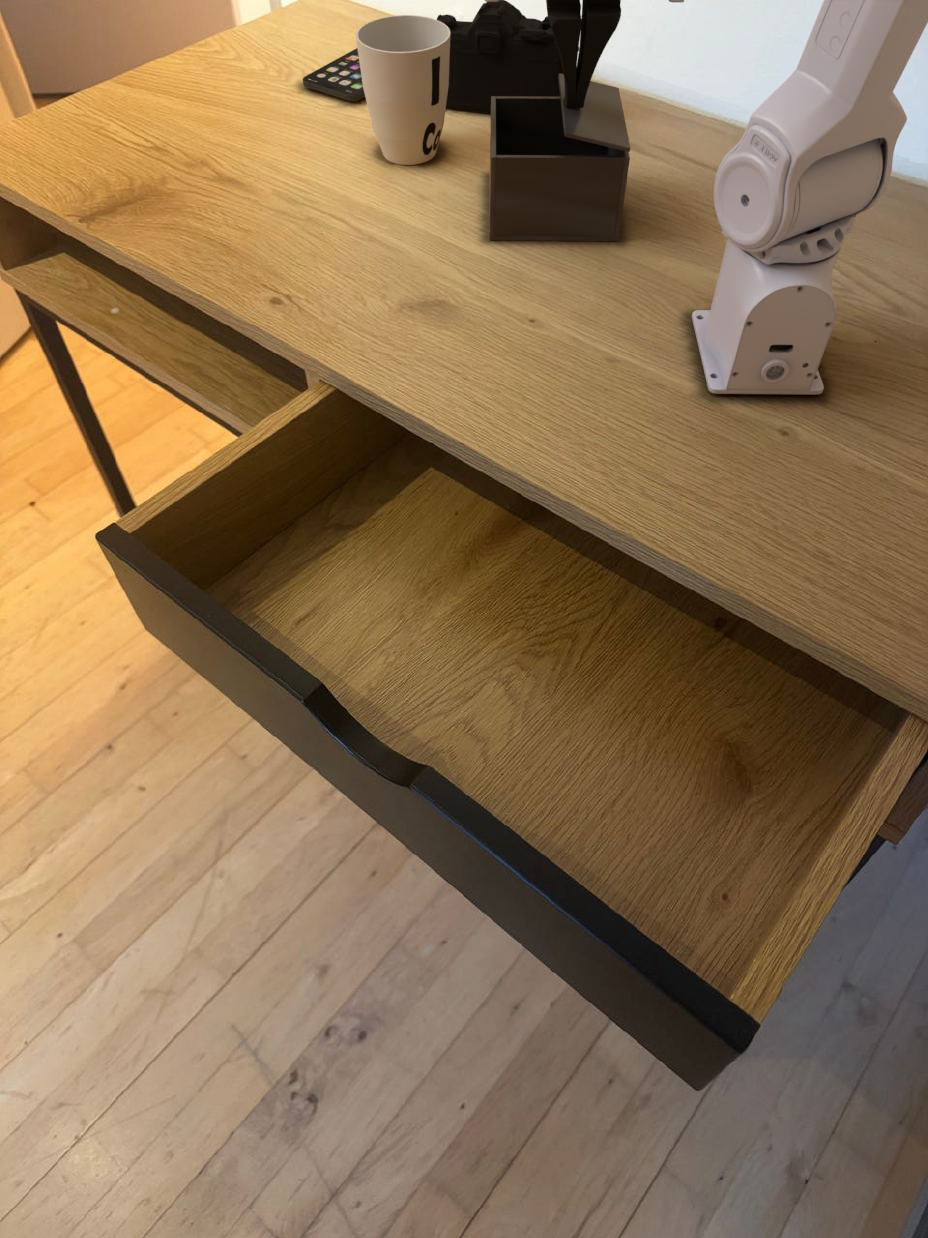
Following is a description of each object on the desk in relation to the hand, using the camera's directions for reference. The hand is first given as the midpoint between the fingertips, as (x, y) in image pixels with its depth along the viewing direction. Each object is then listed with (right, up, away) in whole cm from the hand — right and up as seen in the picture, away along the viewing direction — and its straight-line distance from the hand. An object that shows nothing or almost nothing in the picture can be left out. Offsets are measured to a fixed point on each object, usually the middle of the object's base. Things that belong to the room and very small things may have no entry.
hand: (573, 102), depth 72 cm
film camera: (-5, +12, +20) cm, 24 cm away
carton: (-1, -5, +7) cm, 9 cm away
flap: (+2, 0, +1) cm, 2 cm away
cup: (-14, +3, +13) cm, 20 cm away
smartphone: (-19, +17, +24) cm, 35 cm away
